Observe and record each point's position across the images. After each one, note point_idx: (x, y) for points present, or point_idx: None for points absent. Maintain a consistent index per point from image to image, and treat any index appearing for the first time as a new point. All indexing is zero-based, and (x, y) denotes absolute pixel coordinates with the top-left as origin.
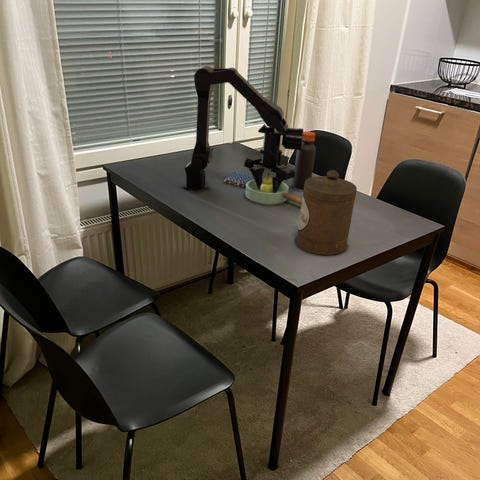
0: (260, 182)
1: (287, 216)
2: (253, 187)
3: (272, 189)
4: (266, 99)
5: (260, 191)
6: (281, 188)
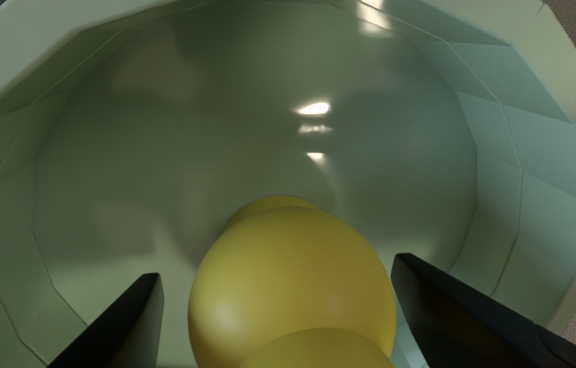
0: (133, 364)
1: (569, 332)
2: (20, 266)
3: (425, 359)
4: None
5: (134, 210)
6: (357, 3)
